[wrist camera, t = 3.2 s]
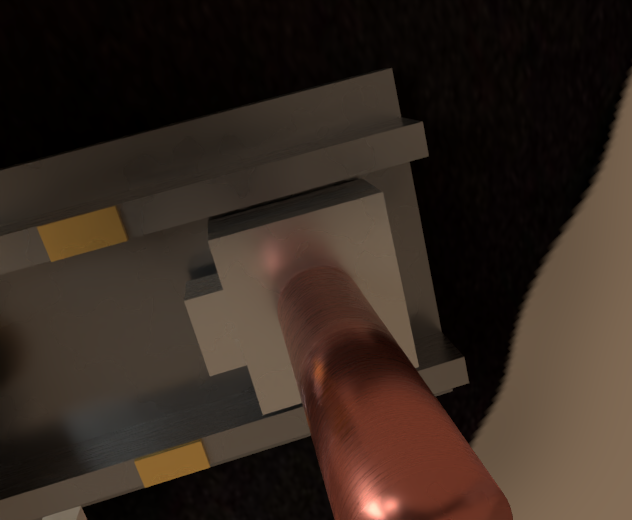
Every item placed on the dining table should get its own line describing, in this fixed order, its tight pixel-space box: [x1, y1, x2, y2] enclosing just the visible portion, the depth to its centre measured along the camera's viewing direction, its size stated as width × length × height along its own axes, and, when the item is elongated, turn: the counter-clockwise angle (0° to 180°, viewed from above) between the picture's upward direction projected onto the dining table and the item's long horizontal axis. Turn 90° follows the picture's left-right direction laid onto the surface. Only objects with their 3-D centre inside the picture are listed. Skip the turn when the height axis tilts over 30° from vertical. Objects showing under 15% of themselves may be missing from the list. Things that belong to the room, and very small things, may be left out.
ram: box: [184, 178, 513, 520], centre depth 17 cm, size 7×7×14 cm
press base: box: [0, 68, 469, 520], centre depth 20 cm, size 24×14×8 cm, turn 104°
